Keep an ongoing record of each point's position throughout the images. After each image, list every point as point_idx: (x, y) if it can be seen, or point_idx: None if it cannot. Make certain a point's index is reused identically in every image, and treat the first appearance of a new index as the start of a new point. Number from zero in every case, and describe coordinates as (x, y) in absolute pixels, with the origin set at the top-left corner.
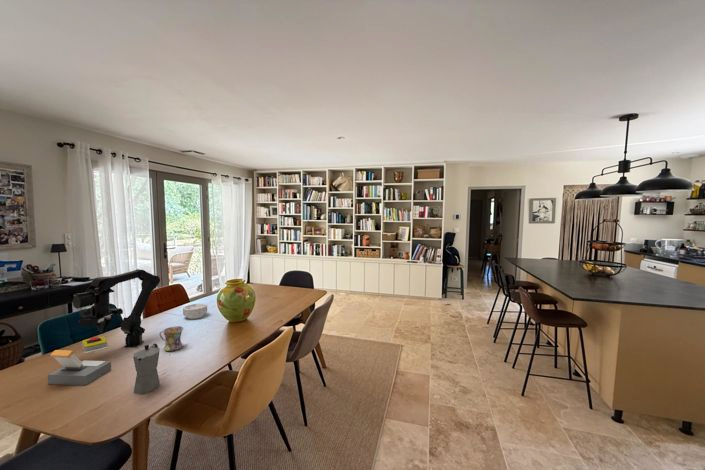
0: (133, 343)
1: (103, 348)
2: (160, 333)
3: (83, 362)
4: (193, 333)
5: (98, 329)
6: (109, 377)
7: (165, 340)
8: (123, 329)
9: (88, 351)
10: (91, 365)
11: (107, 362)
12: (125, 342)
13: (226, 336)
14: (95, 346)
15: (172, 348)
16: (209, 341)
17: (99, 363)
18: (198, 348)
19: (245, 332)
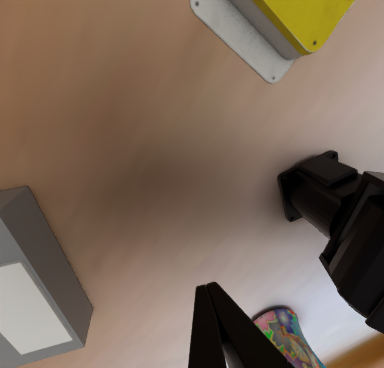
0: (296, 210)
1: (261, 71)
2: (311, 360)
3: (1, 282)
4: None
5: (190, 358)
6: None
7: (288, 337)
8: (367, 237)
9: (213, 4)
10: (9, 336)
11: (72, 346)
12: (306, 170)
13: (339, 354)
14: (260, 14)
15: None
16: (313, 349)
17: (42, 342)
18: None
19: (357, 365)
